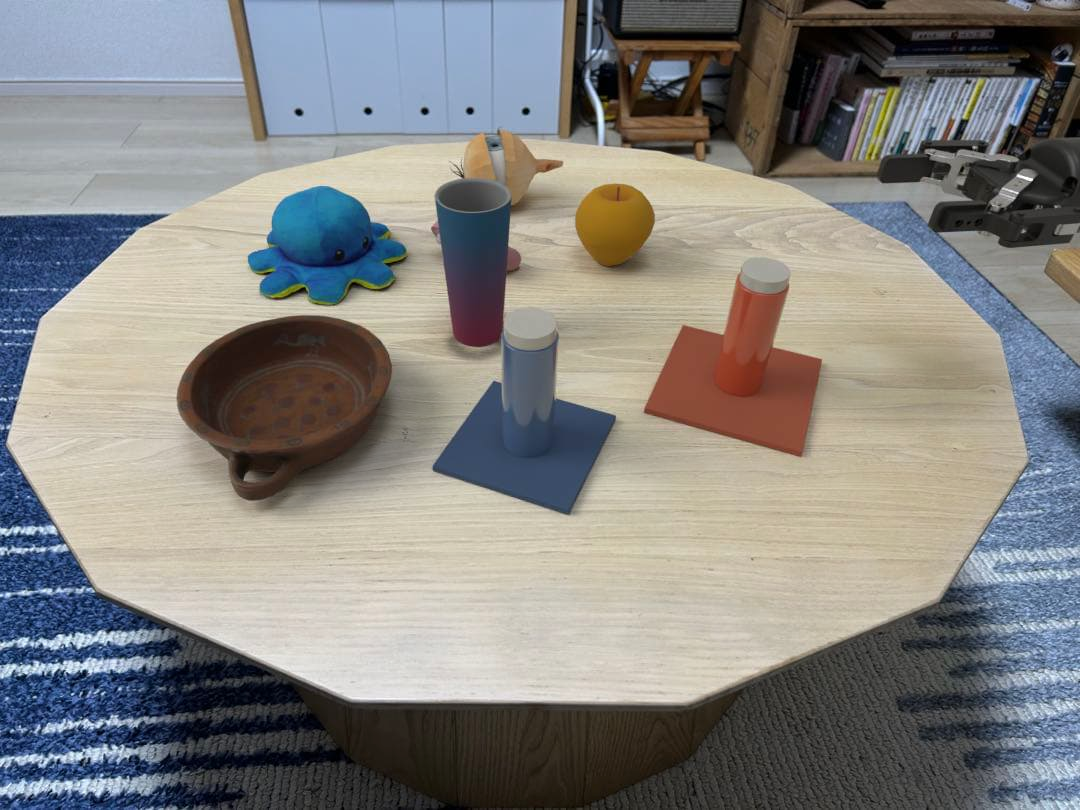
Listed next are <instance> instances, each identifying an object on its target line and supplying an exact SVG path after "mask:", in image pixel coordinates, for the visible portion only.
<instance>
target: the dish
mask: <svg viewBox="0 0 1080 810" xmlns="http://www.w3.org/2000/svg"><path fill="white" fill-rule="evenodd" d="M392 371H393V366H392V362H391V357H390V354H389V352H388V350H387V348H386V346H385V344H384V343H383V342H382V340H381V339H380V338H378V336H376V335H375V334H374V333H372V332H371V331H370V330H369V329H367V328H366V327H364V326H362V325H360V324H357V323H354V322H351V321H349V320H345V319H342V318H337V317H332V316H327V315H316V314H315V315H314V314H313V315H312V314H311V315H310V314H299V315H298V314H297V315H289V316H282V317H277V318H271V319H266V320H262V321H257V322H254V323H250V324H247V325H244V326H242V327H239V328H237V329H235V330H233V331H230V332H229V333H226V334H224V335H223V336H221V337H219V338H217V339H215V340H214V341H212V342H211V343H210V344H207V346H205V347H204V348H203V349H201V351H199V353H198V354H197V355H195V357H194V358H193V360H191V361H190V363H188V366H187V367H186V368H185V370H184V371H183V374H182V375H181V378H180V380H179V383H178V387H177V390H176V407H177V411H178V413H179V415H180V418H181V419H182V421H183V422H184V424H185V425H186V426H187V427H188V429H190V431H192V432H193V433H194V434H195V435H196V436H198V437H199V438H200V439H202V440H203V441H205V442H206V443H208V444H209V445H210V446H211V447H212V448H213V449H214V450H215V451H217V452H218V453H219V454H220V455H221V456H223V457H224V458H225V459H227V460H228V466H227V467H228V468H227V470H228V475H229V479H230V482H231V485H232V487H233V489H234V491H235V493H236V494H237V496H238V497H240V498H241V499H243V500H246V501H248V502H256V501H262V500H265V499H268V498H271V497H274V496H275V495H277V494H279V493H281V492H282V491H284V490H285V489H286V488H287V487H288V486H289V485H290V484H291V483H292V482H293V480H294V479H295V478H296V477H297V476H298V474H299V473H300V472H301V471H302V470H304V469H307V468H311V467H314V466H317V465H319V464H322V463H324V462H327V461H329V460H332V459H333V458H335V457H338V456H339V455H341V454H342V453H344V452H346V451H347V450H348V449H350V448H351V447H353V446H354V445H355V444H356V443H357V442H358V441H359V440H360V439H361V438H362V437H363V436H364V435H365V433H366V432H367V431H368V430H369V428H370V427H371V426H372V424H373V421H374V420H375V417H376V416H377V413H378V410H379V407H380V405H381V402H382V400H383V398H384V397H385V395H386V393H387V391H388V389H389V387H390V383H391V379H392V373H393V372H392ZM251 471H254V472H255V471H256V472H267V473H268V472H270V473H271V472H273V473H274V472H275V473H274V474H271V476H269V477H267V478H266V479H264V480H261V481H255V482H252V481H251V482H249V481H246V480H244V479H245V476H246V475H247V473H249V472H251Z"/></svg>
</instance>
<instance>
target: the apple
mask: <svg viewBox="0 0 1080 810" xmlns="http://www.w3.org/2000/svg"><path fill="white" fill-rule="evenodd" d="M654 211H655V210H654V208H653V205H652V203H651V202H650V201H649V199H648V198H647V196H646V195H645V194H644V193H643V192H642V191H641V190H639V189H638V188H636V187H634V186H632V185H629V184H626V183H605V184H602V185H599V186H597V187H594V188H593V189H592V190H590V191H589V192H588V194H586V195H585V196H584V197H583V198H582V199H581V200H580V202H579V205H578V207H577V209H576V212H575V216H574V223H575V224H574V225H575V226H574V227H575V230H576V234H577V236H578V239H579V241H580V242H581V244H582V245H583V247H584V249H585V250H586V252H587V253H588V254H589V255H590V257H591V258H592V260H594V261H595V262H597V263H598V264H599V265H602V266H604V267H613V266H618V265H621V264H623V263H625V262H626V261H628V260H629V259H630V258H631V257H632V256H633V255H635V254H636V253H637V252H639V251H640V250H641V249H642V247H643V246H644V245H645V243H646V242H647V240H648V239H649V237H650V236H651V234H652V232H653V229H654V226H655V223H656V214H655V212H654Z"/></svg>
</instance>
